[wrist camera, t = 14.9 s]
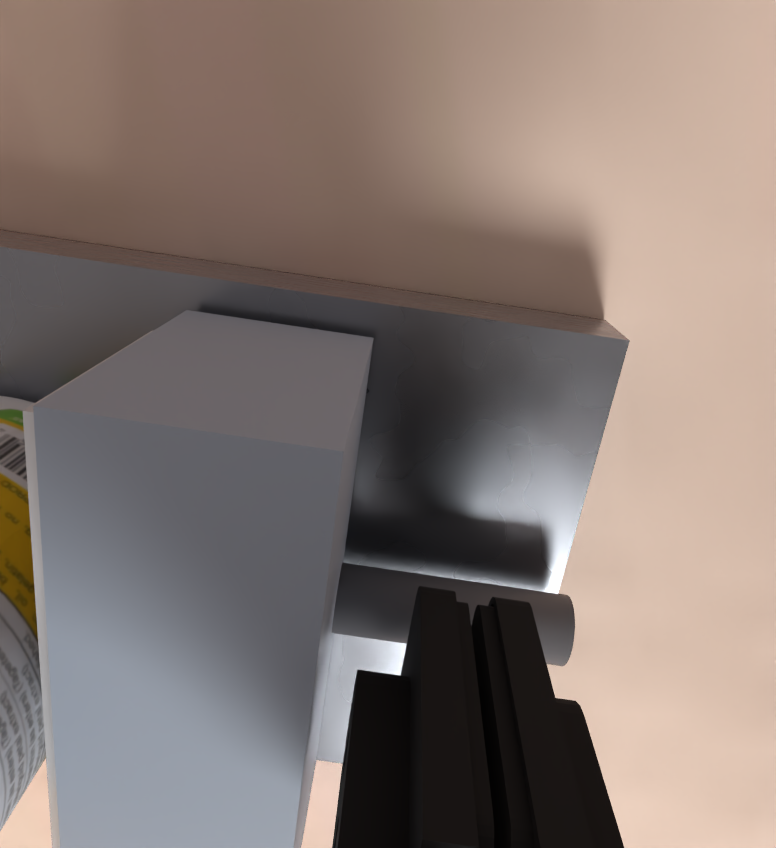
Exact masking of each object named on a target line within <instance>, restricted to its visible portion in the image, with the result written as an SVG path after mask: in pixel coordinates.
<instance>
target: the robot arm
mask: <svg viewBox="0 0 776 848" xmlns="http://www.w3.org/2000/svg"><path fill="white" fill-rule="evenodd" d="M332 848H624V846H623V842H622V839H621V836H620V832H619V829H618V826H617V823H616V819H615V816H614V813H613V809H612V806H611V803H610V799H609V796H608V793H607V790H606V786H605V783H604V780H603V776H602V773H601V770H600V766H599V763H598V760H597V757H596V753H595V750H594V747H593V743H592V740H591V737H590V733H589V730H588V727H587V724H586V720H585V717H584V714H583V712H582V709H581V707H580V705H579V704H578V703H577V702H576V701H572V700H565V699H558V698H555V695H554V692H553V688H552V684H551V680H550V676H549V672H548V668H547V665H546V661H545V657H544V653H543V649H542V645H541V641H540V638H539V634H538V630H537V626H536V622H535V618H534V614H533V611H532V607H531V605H530V603H529V602H525V601H518V600H512V599H505V598H498V597H492V598H491V600H490V602H489V605H488V606H485V605H477V607H476V609H475V612H474V616H473V620H472V625H471V621H470V613H469V605H468V603H465V602H458V601H457V600H456V593H455V591H451V590H444V589H437V588H430V587H423V586H419V587H418V590H417V594H416V599H415V604H414V609H413V614H412V619H411V624H410V629H409V635H408V640H407V645H406V650H405V655H404V660H403V665H402V670H401V675H393V674H386V673H379V672H372V671H365V670H357V674H356V679H355V685H354V691H353V697H352V704H351V710H350V716H349V723H348V729H347V736H346V743H345V751H344V758H343V766H342V774H341V782H340V790H339V798H338V806H337V814H336V822H335V831H334V839H333V847H332Z"/></svg>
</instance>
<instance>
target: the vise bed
mask: <svg viewBox="0 0 776 848" xmlns="http://www.w3.org/2000/svg"><path fill="white" fill-rule="evenodd" d="M186 310H190V311H197V312H203V313H210V314H217V315H224V316H230V317H237V318H244V319H251V320H257V321H264V322H271V323H278V324H284V325H291V326H298V327H304V328H311V329H318V330H325V331H331V332H338V333H345V334H352V335H358V336H365V337H372V338H374V339H373V346H372V354H371V361H370V368H369V376H368V383H367V390H366V398H365V405H364V413H363V420H362V427H361V435H360V442H359V449H358V457H357V464H356V472H355V479H354V486H353V494H352V501H351V508H350V516H349V523H348V530H347V538H346V545H345V553H344V560H343V563H349V564H356V565H363V566H370V567H377V568H384V569H390V570H397V571H404V572H411V573H418V574H425V575H432V576H439V577H446V578H453V579H459V580H466V581H473V582H480V583H487V584H494V585H501V586H508V587H515V588H522V589H529V590H535V591H542V592H549V593H556V594H558V592H559V588H560V585H561V581H562V578H563V574H564V571H565V567H566V564H567V560H568V556H569V553H570V549H571V546H572V542H573V539H574V535H575V532H576V528H577V525H578V521H579V518H580V514H581V510H582V507H583V503H584V500H585V496H586V493H587V489H588V486H589V482H590V479H591V475H592V471H593V468H594V464H595V461H596V457H597V454H598V450H599V447H600V443H601V440H602V436H603V433H604V429H605V425H606V422H607V418H608V415H609V411H610V408H611V404H612V401H613V397H614V394H615V390H616V386H617V383H618V379H619V376H620V372H621V369H622V365H623V362H624V358H625V355H626V351H627V348H628V344H629V340H628V339H627V338H626V337H625V336H624V335H622V334H621V333H620V332H619V331H618V330H616V329H615V328H614V327H613V326H612V325H610V324H609V323H608V322H607V321H606V320H601V319H594V318H587V317H581V316H574V315H567V314H560V313H554V312H547V311H540V310H534V309H527V308H520V307H514V306H507V305H500V304H493V303H487V302H480V301H473V300H467V299H460V298H453V297H447V296H440V295H433V294H426V293H420V292H413V291H406V290H400V289H393V288H386V287H380V286H373V285H366V284H360V283H353V282H346V281H339V280H333V279H326V278H319V277H313V276H306V275H299V274H293V273H286V272H279V271H272V270H266V269H259V268H252V267H246V266H239V265H232V264H226V263H219V262H212V261H205V260H199V259H192V258H185V257H179V256H172V255H165V254H159V253H152V252H145V251H138V250H132V249H125V248H118V247H112V246H105V245H98V244H92V243H85V242H78V241H72V240H65V239H58V238H51V237H45V236H38V235H31V234H25V233H18V232H11V231H5V230H0V396H6V397H12V398H17V399H22V400H26V401H29V402H33V403H36V402H38V401H39V400H41V399H43V398H44V397H46V396H47V395H49V394H51V393H52V392H54V391H55V390H57V389H59V388H60V387H62V386H63V385H65V384H67V383H68V382H70V381H72V380H73V379H75V378H76V377H78V376H80V375H81V374H83V373H84V372H86V371H88V370H89V369H91V368H93V367H94V366H96V365H97V364H99V363H101V362H102V361H104V360H105V359H107V358H109V357H110V356H112V355H113V354H115V353H117V352H118V351H120V350H122V349H123V348H125V347H126V346H128V345H130V344H131V343H133V342H134V341H136V340H138V339H139V338H141V337H142V336H144V335H146V334H147V333H149V332H151V331H154V330H156V329H157V328H159V327H160V326H162V325H164V324H165V323H167V322H168V321H170V320H172V319H173V318H175V317H176V316H178V315H180V314H181V313H183V312H184V311H186ZM406 645H407V644H405V643H398V642H391V641H384V640H377V639H370V638H363V637H356V636H349V635H342V634H335V633H334V634H333V641H332V648H331V656H330V663H329V671H328V678H327V685H326V693H325V700H324V707H323V715H322V722H321V730H320V737H319V744H318V752H317V758H316V760H321V761H328V762H335V763H342V764H343V758H344V751H345V743H346V736H347V729H348V723H349V716H350V710H351V704H352V697H353V691H354V685H355V679H356V674H357V670H365V671H372V672H379V673H386V674H393V675H401V670H402V665H403V660H404V655H405V650H406Z"/></svg>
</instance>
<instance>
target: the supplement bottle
mask: <svg viewBox="0 0 776 848" xmlns="http://www.w3.org/2000/svg"><path fill="white" fill-rule="evenodd" d="M33 404H34V403H33V402H29V401H26V400H22V399H17V398H12V397H6V396H0V831H1V829H2V827H3V826H4V824H5V823H6V821H7V819H8V818H9V816H10V814H11V813H12V811H13V810H14V808H15V806H16V805H17V803H18V802H19V800H20V798H21V797H22V795H23V794H24V792H25V790H26V789H27V787H28V785H29V784H30V782H31V781H32V779H33V777H34V776H35V774H36V773H37V771H38V770H39V768H40V766H41V765H42V763H43V762H44V760H45V758H46V749H45V735H44V720H43V705H42V690H41V676H40V661H39V646H38V631H37V617H36V602H35V587H34V573H33V558H32V543H31V528H30V514H29V499H28V484H27V470H26V455H25V440H24V425H23V410H25V409H26V408H28V407H30V406H31V405H33Z"/></svg>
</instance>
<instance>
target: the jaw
mask: <svg viewBox="0 0 776 848" xmlns="http://www.w3.org/2000/svg"><path fill="white" fill-rule="evenodd" d="M373 339H374V338H372V337H365V336H358V335H352V334H345V333H338V332H331V331H325V330H318V329H311V328H304V327H298V326H291V325H284V324H278V323H271V322H264V321H257V320H251V319H244V318H237V317H230V316H224V315H217V314H210V313H203V312H197V311H190V310H186V311H184V312H183V313H181V314H180V315H178V316H176V317H175V318H173V319H172V320H170V321H168V322H167V323H165V324H164V325H162V326H160V327H159V328H157V329H156V330H154V331H151V332H149V333H147V334H146V335H144V336H142V337H141V338H139V339H138V340H136V341H134V342H133V343H131V344H130V345H128V346H126V347H125V348H123V349H122V350H120V351H118V352H117V353H115V354H113V355H112V356H110V357H109V358H107V359H105V360H104V361H102V362H101V363H99V364H97V365H96V366H94V367H93V368H91V369H89V370H88V371H86V372H84V373H83V374H81V375H80V376H78V377H76V378H75V379H73V380H72V381H70V382H68V383H67V384H65V385H63V386H62V387H60V388H59V389H57V390H55V391H54V392H52V393H51V394H49V395H47V396H46V397H44V398H43V399H41V400H39V401H38V402H36V403H34V404H33V405H31V406H30V407H28V408H26V409H25V410H23V425H24V440H25V455H26V470H27V484H28V499H29V514H30V528H31V543H32V558H33V573H34V587H35V602H36V617H37V631H38V646H39V661H40V676H41V690H42V705H43V720H44V735H45V749H46V764H47V779H48V793H49V808H50V823H51V838H52V848H301V845H302V839H303V833H304V827H305V822H306V816H307V810H308V804H309V798H310V793H311V787H312V781H313V775H314V770H315V764H316V758H317V752H318V744H319V737H320V730H321V722H322V715H323V707H324V700H325V693H326V685H327V678H328V671H329V663H330V656H331V648H332V641H333V634H334V633H335V634H342V635H349V636H356V637H363V638H370V639H377V640H384V641H391V642H398V643H405V644H407V640H408V635H409V629H410V624H411V619H412V614H413V609H414V604H415V599H416V594H417V590H418V587H419V586H423V587H430V588H437V589H444V590H451V591H455V593H456V600H457V601H458V602H465V603H468V605H469V613H470V621H471V625H472V620H473V616H474V612H475V609H476V607H477V605H485V606H488V605H489V602H490V600H491V598H492V597H498V598H505V599H512V600H518V601H525V602H529V603H530V605H531V607H532V611H533V614H534V618H535V622H536V626H537V630H538V634H539V638H540V641H541V645H542V649H543V653H544V657H545V661H546V664H551V665H558V666H564V665H565V664H566V663H567V662H568V660H569V657H570V655H571V651H572V647H573V641H574V631H575V617H574V609H573V604H572V601H571V599H570V597H569V596H568V595H563V594H556V593H549V592H542V591H535V590H529V589H522V588H515V587H508V586H501V585H494V584H487V583H480V582H473V581H466V580H459V579H453V578H446V577H439V576H432V575H425V574H418V573H411V572H404V571H397V570H390V569H384V568H377V567H370V566H363V565H356V564H349V563H343V560H344V553H345V545H346V538H347V530H348V523H349V516H350V508H351V501H352V494H353V486H354V479H355V472H356V464H357V457H358V449H359V442H360V435H361V427H362V420H363V413H364V405H365V398H366V390H367V383H368V376H369V368H370V361H371V354H372V346H373Z"/></svg>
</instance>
